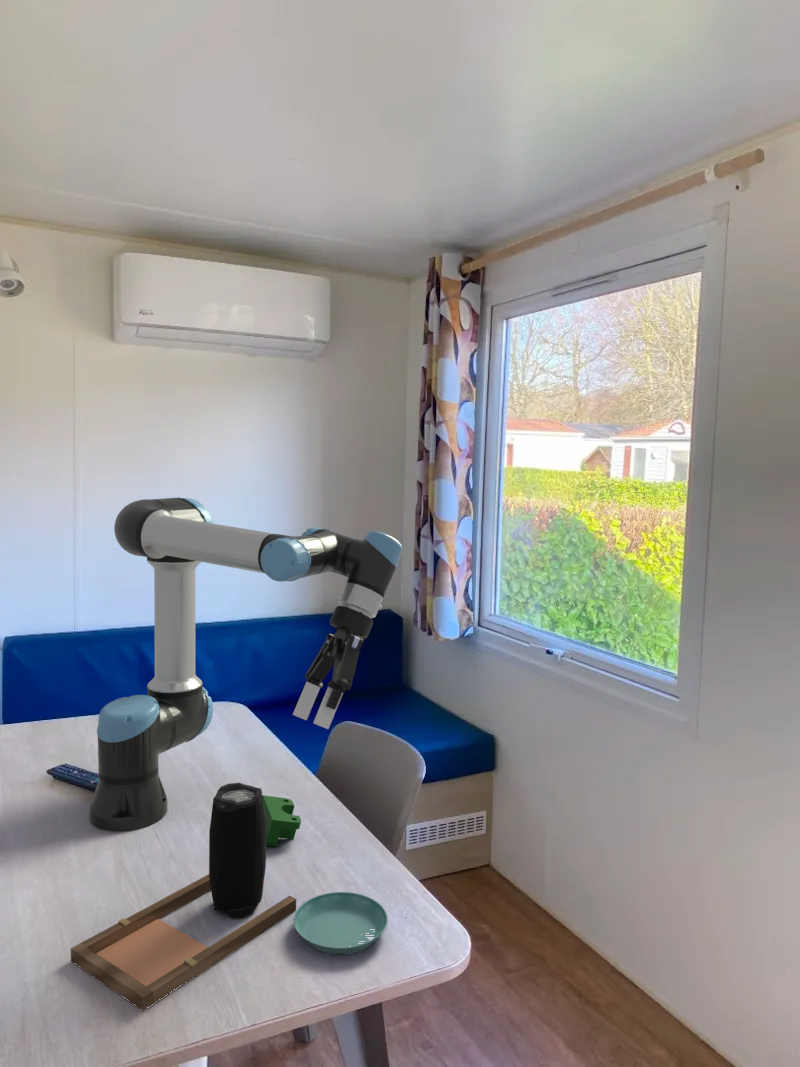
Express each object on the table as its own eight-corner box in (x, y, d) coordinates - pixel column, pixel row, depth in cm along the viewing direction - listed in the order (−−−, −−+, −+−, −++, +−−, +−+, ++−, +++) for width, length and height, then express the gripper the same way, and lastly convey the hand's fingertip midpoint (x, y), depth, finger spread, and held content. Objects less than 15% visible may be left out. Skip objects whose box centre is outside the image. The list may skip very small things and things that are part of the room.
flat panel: (95, 955, 114) (95, 953, 114) (157, 920, 123) (157, 918, 123) (154, 994, 106) (154, 992, 106) (216, 954, 115) (216, 952, 115)
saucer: (309, 973, 112) (309, 956, 111) (282, 917, 125) (282, 902, 125) (402, 950, 117) (402, 934, 117) (367, 899, 131) (367, 884, 131)
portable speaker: (275, 899, 130) (277, 787, 128) (238, 928, 121) (239, 809, 120) (235, 884, 134) (236, 776, 132) (197, 911, 126) (198, 796, 124)
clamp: (288, 863, 150) (303, 830, 146) (258, 860, 148) (272, 827, 144) (284, 815, 160) (298, 783, 157) (256, 811, 158) (269, 779, 155)
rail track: (70, 960, 113) (70, 946, 112) (224, 875, 137) (224, 863, 136) (144, 1012, 103) (143, 996, 102) (296, 910, 127) (296, 897, 126)
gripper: (398, 620, 132) (350, 738, 127) (351, 620, 155) (308, 721, 150) (361, 601, 130) (310, 721, 124) (318, 605, 153) (274, 707, 147)
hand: (309, 722), depth 137 cm, fingers open, 13 cm apart
